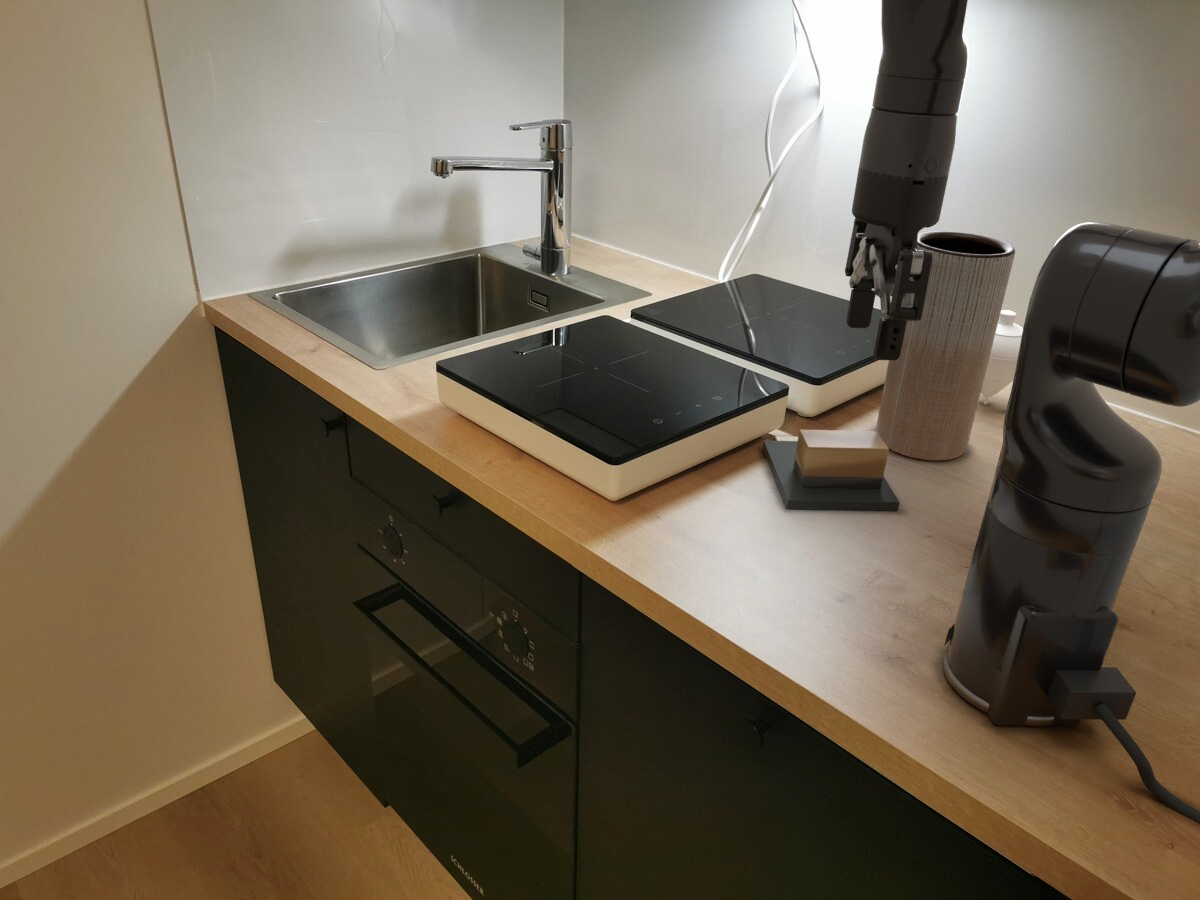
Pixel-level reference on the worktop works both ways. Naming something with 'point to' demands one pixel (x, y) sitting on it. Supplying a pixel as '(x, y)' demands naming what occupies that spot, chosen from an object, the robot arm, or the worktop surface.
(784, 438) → the cream rectangular block
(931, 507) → the worktop surface
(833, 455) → the eraser
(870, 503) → the slate board
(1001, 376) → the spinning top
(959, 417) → the planter
